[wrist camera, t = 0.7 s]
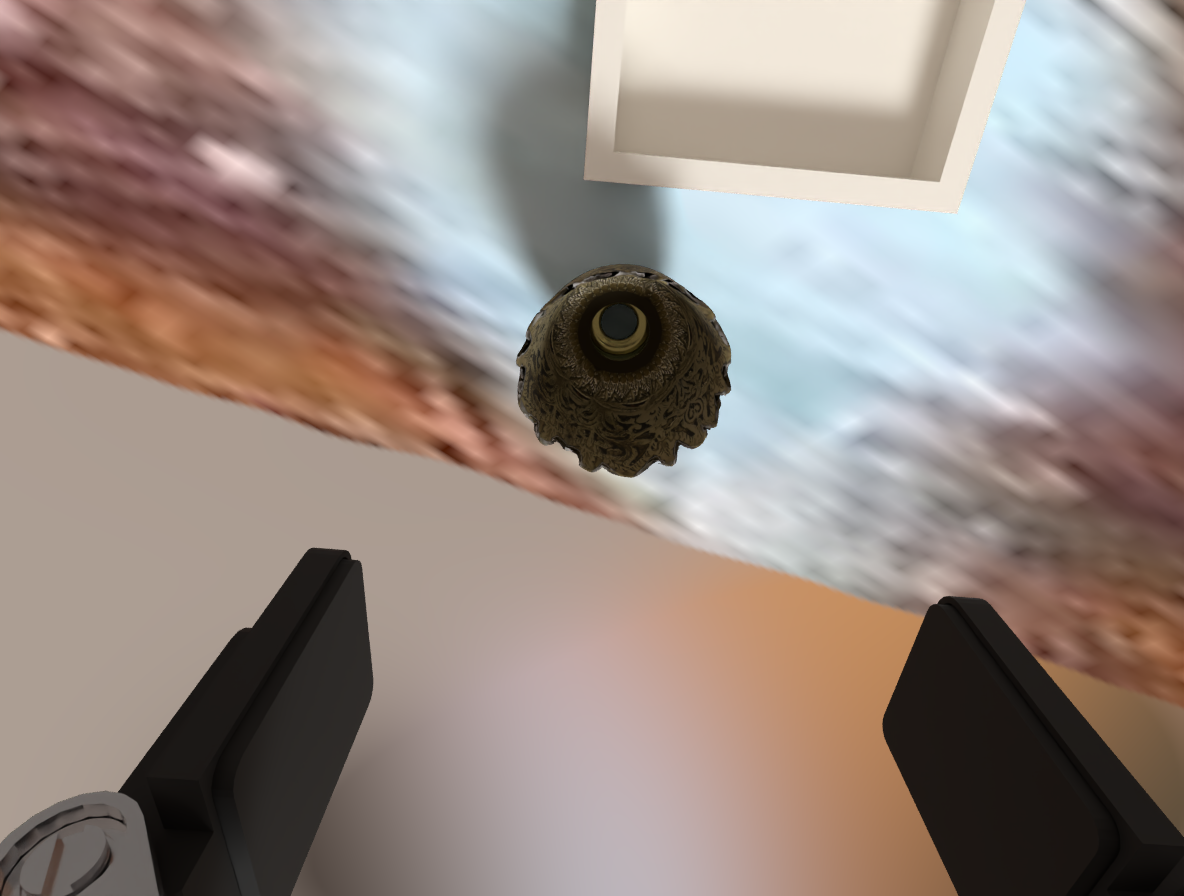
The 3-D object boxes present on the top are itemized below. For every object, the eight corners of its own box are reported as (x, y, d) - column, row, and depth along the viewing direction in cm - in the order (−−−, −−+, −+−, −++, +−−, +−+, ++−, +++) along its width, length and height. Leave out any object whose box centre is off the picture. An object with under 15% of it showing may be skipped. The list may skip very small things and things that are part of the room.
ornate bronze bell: (734, 306, 28) (779, 363, 21) (633, 425, 31) (641, 512, 24) (602, 200, 26) (602, 223, 19) (506, 336, 29) (474, 402, 22)
